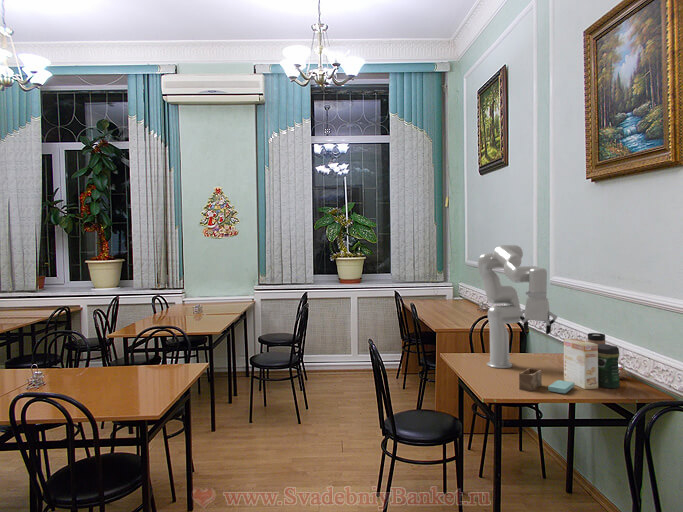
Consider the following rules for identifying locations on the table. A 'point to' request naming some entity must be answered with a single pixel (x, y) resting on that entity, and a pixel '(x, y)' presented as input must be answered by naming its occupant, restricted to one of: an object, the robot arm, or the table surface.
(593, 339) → the travel mug
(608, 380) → the coffee jar
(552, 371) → the table surface
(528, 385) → the tea box
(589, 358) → the coffeecake box
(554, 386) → the lid
